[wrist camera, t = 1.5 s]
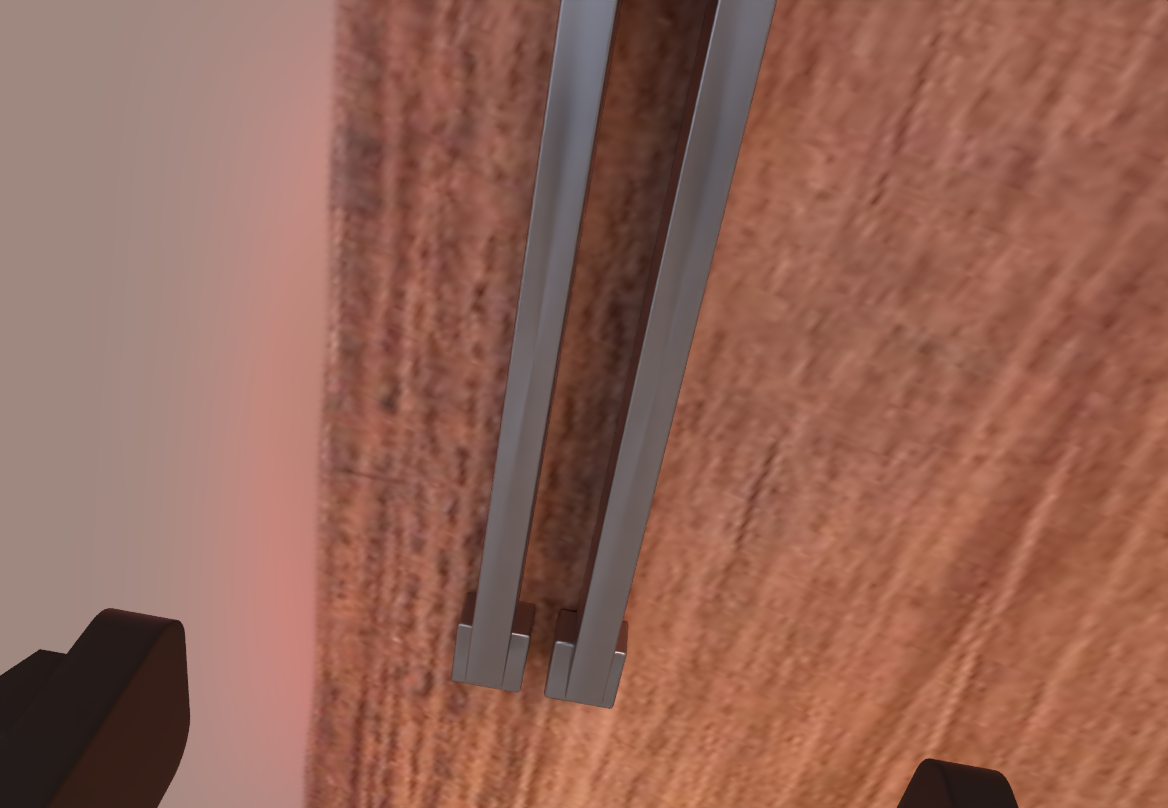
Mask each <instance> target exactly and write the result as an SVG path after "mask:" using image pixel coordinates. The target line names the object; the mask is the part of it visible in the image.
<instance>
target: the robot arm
mask: <svg viewBox="0 0 1168 808" xmlns="http://www.w3.org/2000/svg"><path fill="white" fill-rule="evenodd" d="M188 692H189V691H188V675H187V661H186V644H185V631H184V627H183V625H182V623H181V622H180V621H179V620H174V619H168V618H162V617H157V616H152V615H146V614H140V613H135V612H129V611H123V610H118V609H113V608H108V609H105V610H103V611H101V612H100V613H99V614H98V615H97V616H96V617H95V618H94V619H93V620H92V621H91V623H90V624H89V626H88V627H87V628H86V629H85V631H84V632H83V633H82V635H81V636H80V637H79V639H78V640H77V641H76V642H75V644H74V645H73V646H72V648H71V649H70V650H69V652H68V653H67V654H64V653H58V652H52V651H46V650H41V649H40V650H38V651H37V652H35V653H34V654H32V655H31V656H29V657H28V658H26V659H25V660H23V661H22V662H20V663H19V664H17V665H16V666H14V667H13V668H11V669H10V670H8V671H7V672H5V673H4V674H2V675H1V676H0V808H157V807H158V805H159V803H160V801H161V800H162V798H163V796H164V794H165V792H166V791H167V789H168V787H169V785H170V783H171V781H172V779H173V777H174V775H175V773H176V771H177V769H178V766H179V764H180V761H181V759H182V756H183V753H184V749H185V746H186V742H187V738H188V732H189V726H190V708H189V693H188ZM897 808H1018V805H1017V802H1016V800H1015V797H1014V794H1013V791H1012V789H1011V787H1010V784H1009V782H1008V781H1007V779H1006V778H1005V777H1004V775H1003V774H1002V773H1000V772H999V771H996V770H991V769H985V768H980V767H974V766H969V765H963V764H958V763H952V762H946V761H941V760H935V759H930V758H929V759H925V760H924V761H922V762H921V763H920V765H919V766H918V768H917V769H916V771H915V773H914V775H913V777H912V779H911V781H910V783H909V785H908V787H907V789H906V791H905V793H904V795H903V797H902V799H901V801H900V803H899V805H898V806H897Z"/></svg>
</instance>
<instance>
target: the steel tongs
mask: <svg viewBox="0 0 1168 808" xmlns="http://www.w3.org/2000/svg"><path fill="white" fill-rule="evenodd" d="M621 3H622V0H560V6H559V13H558V20H557V27H556V34H555V41H554V48H553V55H552V63H551V70H550V77H549V84H548V91H547V98H546V105H545V112H544V119H543V127H542V134H541V141H540V148H539V155H538V162H537V169H536V176H535V183H534V190H533V198H532V205H531V212H530V219H529V226H528V233H527V240H526V247H525V254H524V261H523V269H522V276H521V283H520V290H519V297H518V304H517V311H516V318H515V325H514V332H513V340H512V347H511V354H510V361H509V368H508V375H507V382H506V389H505V396H504V404H503V411H502V418H501V425H500V432H499V439H498V446H497V453H496V460H495V467H494V475H493V482H492V489H491V496H490V503H489V510H488V517H487V524H486V531H485V538H484V546H483V553H482V560H481V567H480V574H479V581H478V588H477V594H473V593H467V594H466V597H465V600H464V604H463V608H462V611H461V615H460V618H459V622H458V627H457V635H456V643H455V650H454V658H453V666H452V673H451V680H452V681H456V682H461V683H467V684H473V685H478V686H484V687H489V688H495V689H501V690H506V691H512V692H520V690H521V686H522V680H523V675H524V669H525V664H526V658H527V653H528V648H529V642H530V637H531V631H532V626H533V620H534V614H535V609H536V607H535V605H534V604H529V603H524V602H519V598H520V592H521V586H522V580H523V574H524V568H525V563H526V557H527V551H528V545H529V539H530V533H531V528H532V522H533V516H534V510H535V504H536V498H537V493H538V487H539V481H540V475H541V469H542V463H543V458H544V452H545V446H546V440H547V434H548V428H549V423H550V417H551V411H552V405H553V399H554V393H555V388H556V382H557V376H558V370H559V364H560V358H561V353H562V347H563V341H564V335H565V329H566V323H567V318H568V312H569V306H570V300H571V294H572V288H573V283H574V277H575V271H576V265H577V259H578V253H579V248H580V242H581V236H582V230H583V224H584V218H585V213H586V207H587V201H588V195H589V189H590V183H591V178H592V172H593V166H594V160H595V154H596V148H597V143H598V137H599V131H600V125H601V119H602V113H603V108H604V102H605V96H606V90H607V84H608V78H609V73H610V67H611V61H612V55H613V49H614V43H615V38H616V32H617V26H618V20H619V14H620V8H621ZM776 3H777V0H708V3H707V8H706V12H705V17H704V22H703V26H702V31H701V36H700V40H699V45H698V50H697V54H696V59H695V64H694V68H693V73H692V78H691V82H690V87H689V92H688V96H687V101H686V106H685V110H684V115H683V120H682V124H681V129H680V134H679V138H678V143H677V148H676V152H675V157H674V162H673V166H672V171H671V176H670V180H669V185H668V190H667V194H666V199H665V204H664V208H663V213H662V218H661V222H660V227H659V232H658V236H657V241H656V246H655V250H654V255H653V260H652V264H651V269H650V274H649V278H648V283H647V288H646V292H645V297H644V302H643V306H642V311H641V316H640V320H639V325H638V330H637V334H636V339H635V343H634V348H633V353H632V357H631V362H630V367H629V371H628V376H627V381H626V385H625V390H624V395H623V399H622V404H621V409H620V413H619V418H618V423H617V427H616V432H615V437H614V441H613V446H612V451H611V455H610V460H609V465H608V469H607V474H606V479H605V483H604V488H603V493H602V497H601V502H600V507H599V511H598V516H597V521H596V525H595V530H594V535H593V539H592V544H591V549H590V553H589V558H588V563H587V567H586V572H585V577H584V581H583V586H582V591H581V595H580V600H579V605H578V609H577V612H572V611H566V610H561V611H560V612H559V614H558V619H557V624H556V629H555V634H554V639H553V644H552V649H551V654H550V659H549V664H548V670H547V677H546V684H545V690H544V695H545V697H547V698H553V699H559V700H564V701H570V702H575V703H581V704H587V705H592V706H598V707H603V708H609V709H610V708H612V707H613V706H614V702H615V698H616V694H617V690H618V686H619V683H620V679H621V675H622V671H623V667H624V663H625V659H626V655H627V641H628V622H626V621H623V618H624V614H625V610H626V606H627V602H628V598H629V594H630V590H631V586H632V582H633V578H634V574H635V570H636V566H637V562H638V558H639V553H640V549H641V545H642V541H643V537H644V533H645V529H646V525H647V521H648V517H649V513H650V509H651V505H652V501H653V497H654V493H655V489H656V485H657V481H658V477H659V473H660V469H661V465H662V461H663V457H664V453H665V449H666V445H667V441H668V437H669V433H670V429H671V425H672V421H673V417H674V413H675V409H676V405H677V401H678V397H679V393H680V389H681V385H682V381H683V377H684V373H685V368H686V364H687V360H688V356H689V352H690V348H691V344H692V340H693V336H694V332H695V328H696V324H697V320H698V316H699V312H700V308H701V304H702V300H703V296H704V292H705V288H706V284H707V280H708V276H709V272H710V268H711V264H712V260H713V256H714V252H715V248H716V244H717V240H718V236H719V232H720V228H721V224H722V220H723V216H724V212H725V208H726V204H727V200H728V196H729V192H730V188H731V184H732V179H733V175H734V171H735V167H736V163H737V159H738V155H739V151H740V147H741V143H742V139H743V135H744V131H745V127H746V123H747V119H748V115H749V111H750V107H751V103H752V99H753V95H754V91H755V87H756V83H757V79H758V75H759V71H760V67H761V63H762V59H763V55H764V51H765V47H766V43H767V39H768V35H769V31H770V27H771V23H772V19H773V15H774V11H775V7H776Z"/></svg>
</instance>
